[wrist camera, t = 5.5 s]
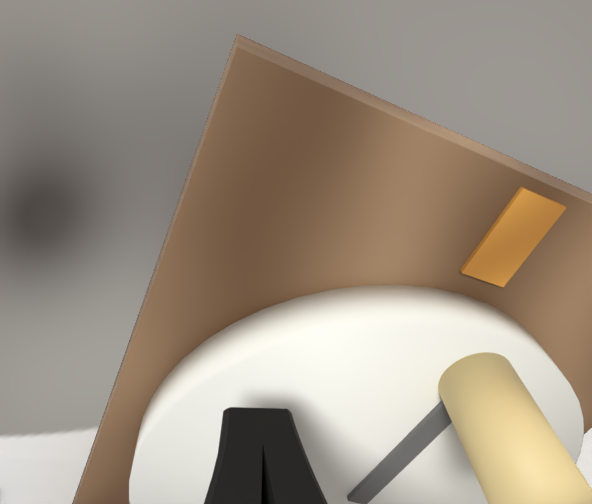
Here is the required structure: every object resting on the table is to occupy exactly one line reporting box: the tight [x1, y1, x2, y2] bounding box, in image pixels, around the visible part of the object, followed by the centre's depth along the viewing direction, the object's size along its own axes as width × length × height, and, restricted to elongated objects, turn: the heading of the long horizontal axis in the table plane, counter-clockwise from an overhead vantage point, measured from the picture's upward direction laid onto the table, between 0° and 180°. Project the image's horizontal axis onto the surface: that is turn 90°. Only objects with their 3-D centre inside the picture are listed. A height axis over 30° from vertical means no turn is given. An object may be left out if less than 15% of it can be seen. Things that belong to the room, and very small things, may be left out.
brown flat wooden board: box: [72, 34, 592, 504], centre depth 17 cm, size 16×21×2 cm
